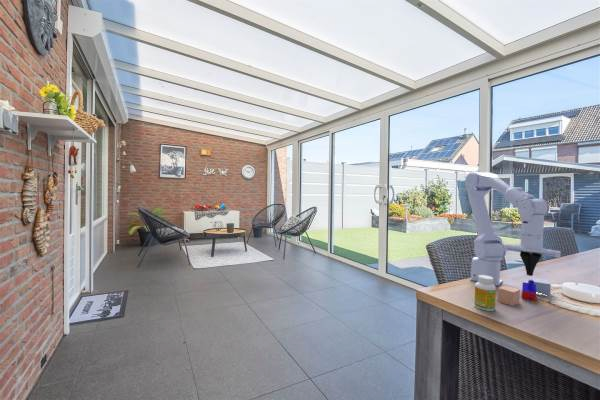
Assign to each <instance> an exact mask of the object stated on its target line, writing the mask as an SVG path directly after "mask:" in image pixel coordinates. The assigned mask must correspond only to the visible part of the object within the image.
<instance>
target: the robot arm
mask: <svg viewBox="0 0 600 400" xmlns="http://www.w3.org/2000/svg"><path fill="white" fill-rule="evenodd" d="M464 185H465V187H466V192H467V196H468V197H467V198H468V200H469V204H470V209H471V212H472V215H473V221H474V223H475V227H476V231H477V237H476V238H474V240H473V244H474V245H473V246H474V247H473V252H474V255H475V256H474V257H472V260H471V264H470V265H471V266H470V278H469V280H470V281H474V282H479V281H478V275H487V276H491V277H493V283H492V284H493V285H495V286H500V285H501V283H503V279H501V261H503V258H505V256H506V255H507V252H508V251H510V252H517V253H520V254H519V257H520V259H521V260H522V262H523V264H524V265H523V266H524V267H525V271H526V275H527V276H529V277H531V276H533V275H534V271H535V268H536V266H537V264H538V262H539V261H540V259H541V258H542V256H546V257H552V258H553V257H554V258H557V259H560V258H561V252H562V251H561V250H555V249H549V248H544V247H543V245H544V243H543V242H544V241H543V239H544V226H545V225H544V224H545V222H544V221H545V216H546V215H547V214H548V213H549V212H550V204H549V203H548V201H546V199H544V198H536V197H535V195H533V194H530V193H528V192H526V191H525V190H524V188H523V187H521V186H520V187H515V186H513V187H512V186H510V185H509V184H508V183H506V182H505V181H503V180H502V179H501V178H499V175H497V174H496V173H495V172H475V171H473V172H472V171H471V172H469V173H468V174H467V175H466V177H465V179H464ZM491 190H495V191H497V192H499V193H500V194H502V195H503V197H504V200H505V201H507V202H508V203H509V204H510V205H512V206H514V207H515V208H516V209H517V212H518V214H519V216H520V221H521V225H520V226H521V229H520V230H521V231H520V245H518V244H509V243H506V244H504V243H503V240H502V238H501V237H499V236H498V235H497V234H495V231H494V228H493V225H492V220H491V218H490V215H489V214H490V213H489V211H488V207H487V203H486V199H485V196H486V195H488V194H489V193H490V192H491Z"/></svg>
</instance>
